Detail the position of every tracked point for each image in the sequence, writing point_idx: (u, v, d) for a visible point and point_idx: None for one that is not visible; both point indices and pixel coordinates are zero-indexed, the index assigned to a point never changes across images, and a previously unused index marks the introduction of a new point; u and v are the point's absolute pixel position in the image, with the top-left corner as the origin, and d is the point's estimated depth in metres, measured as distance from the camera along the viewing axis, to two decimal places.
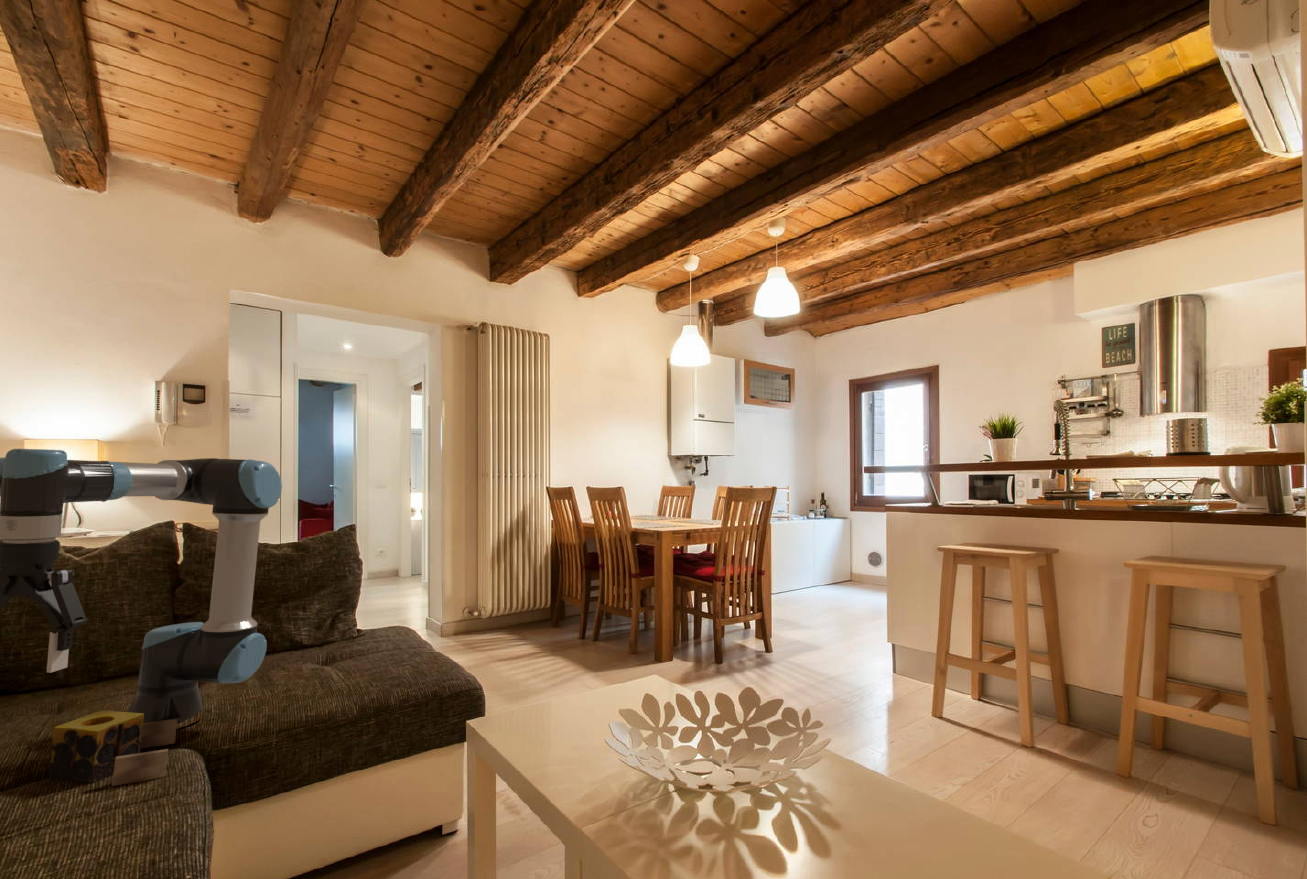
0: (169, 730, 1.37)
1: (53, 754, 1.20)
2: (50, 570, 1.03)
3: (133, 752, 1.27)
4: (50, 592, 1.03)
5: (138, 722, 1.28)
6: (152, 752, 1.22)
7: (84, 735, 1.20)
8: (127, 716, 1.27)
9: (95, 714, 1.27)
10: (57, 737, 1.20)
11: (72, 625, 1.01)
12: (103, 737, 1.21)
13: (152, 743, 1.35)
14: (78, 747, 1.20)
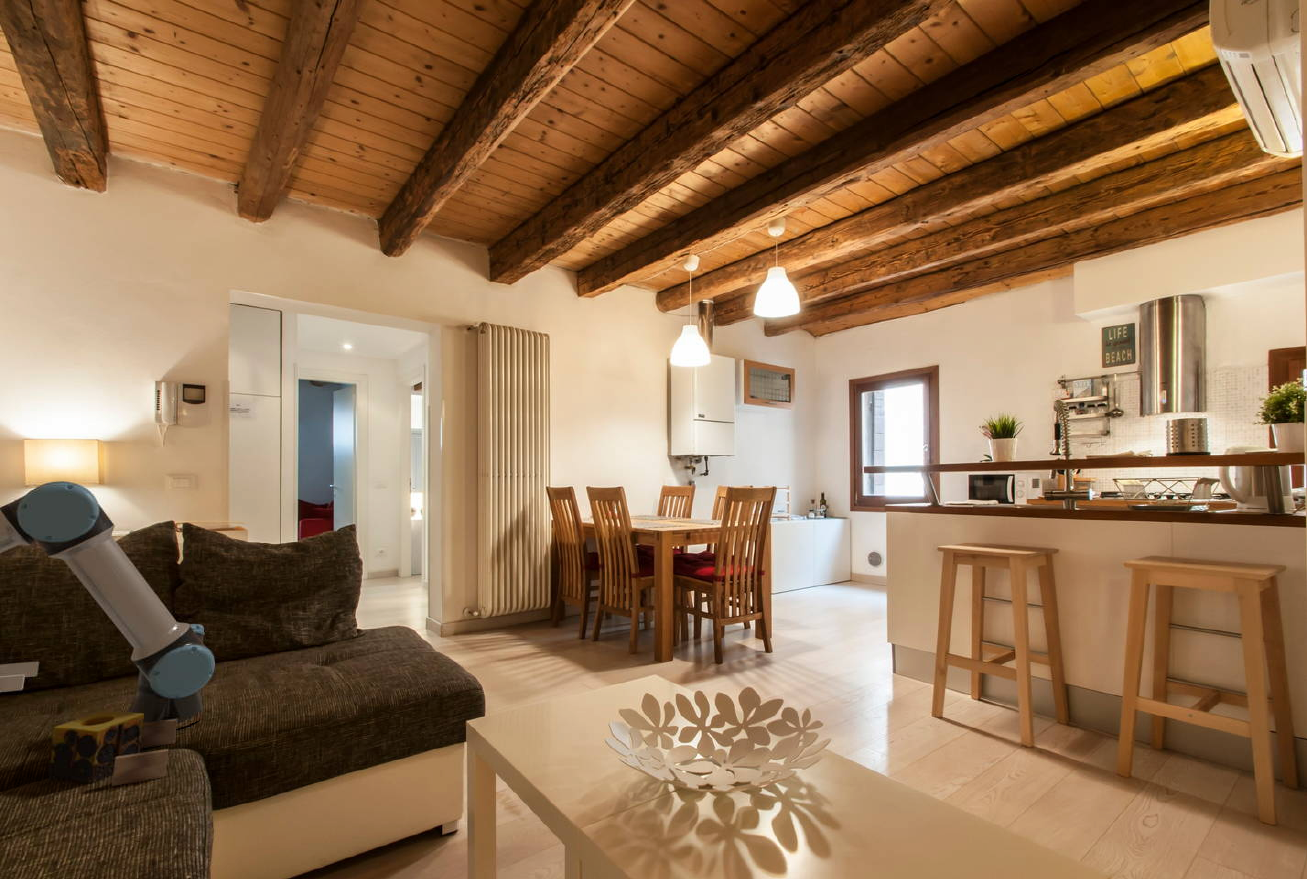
0: (169, 730, 1.37)
1: (53, 754, 1.20)
2: None
3: (133, 752, 1.27)
4: None
5: (138, 722, 1.28)
6: (152, 752, 1.22)
7: (84, 735, 1.20)
8: (127, 716, 1.27)
9: (95, 714, 1.27)
10: (57, 737, 1.20)
11: None
12: (103, 737, 1.21)
13: (152, 743, 1.35)
14: (79, 747, 1.20)
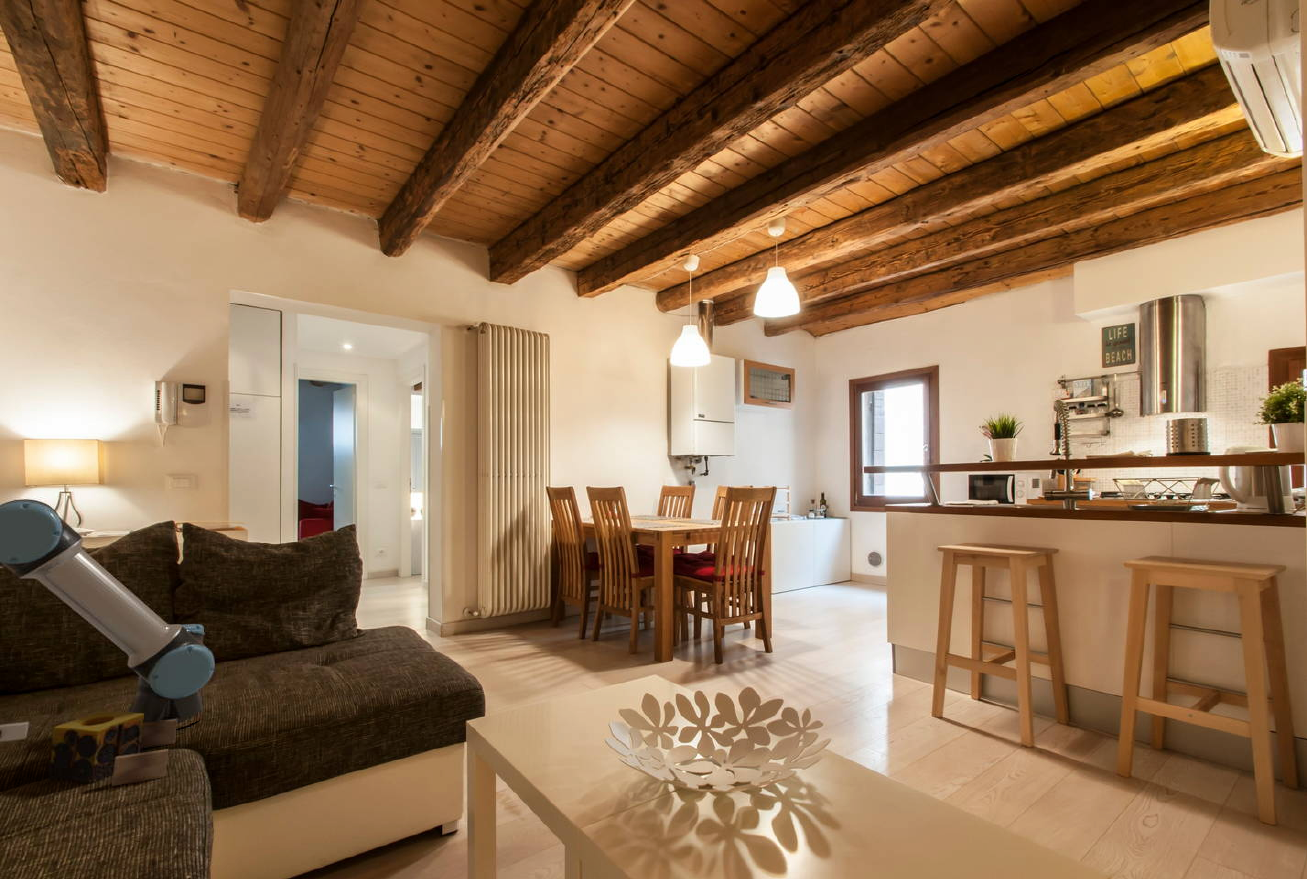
0: (169, 730, 1.37)
1: (53, 754, 1.20)
2: None
3: (133, 752, 1.27)
4: None
5: (138, 722, 1.28)
6: (152, 752, 1.22)
7: (84, 735, 1.20)
8: (127, 716, 1.27)
9: (95, 714, 1.27)
10: (57, 737, 1.20)
11: None
12: (103, 737, 1.21)
13: (152, 743, 1.35)
14: (79, 747, 1.20)
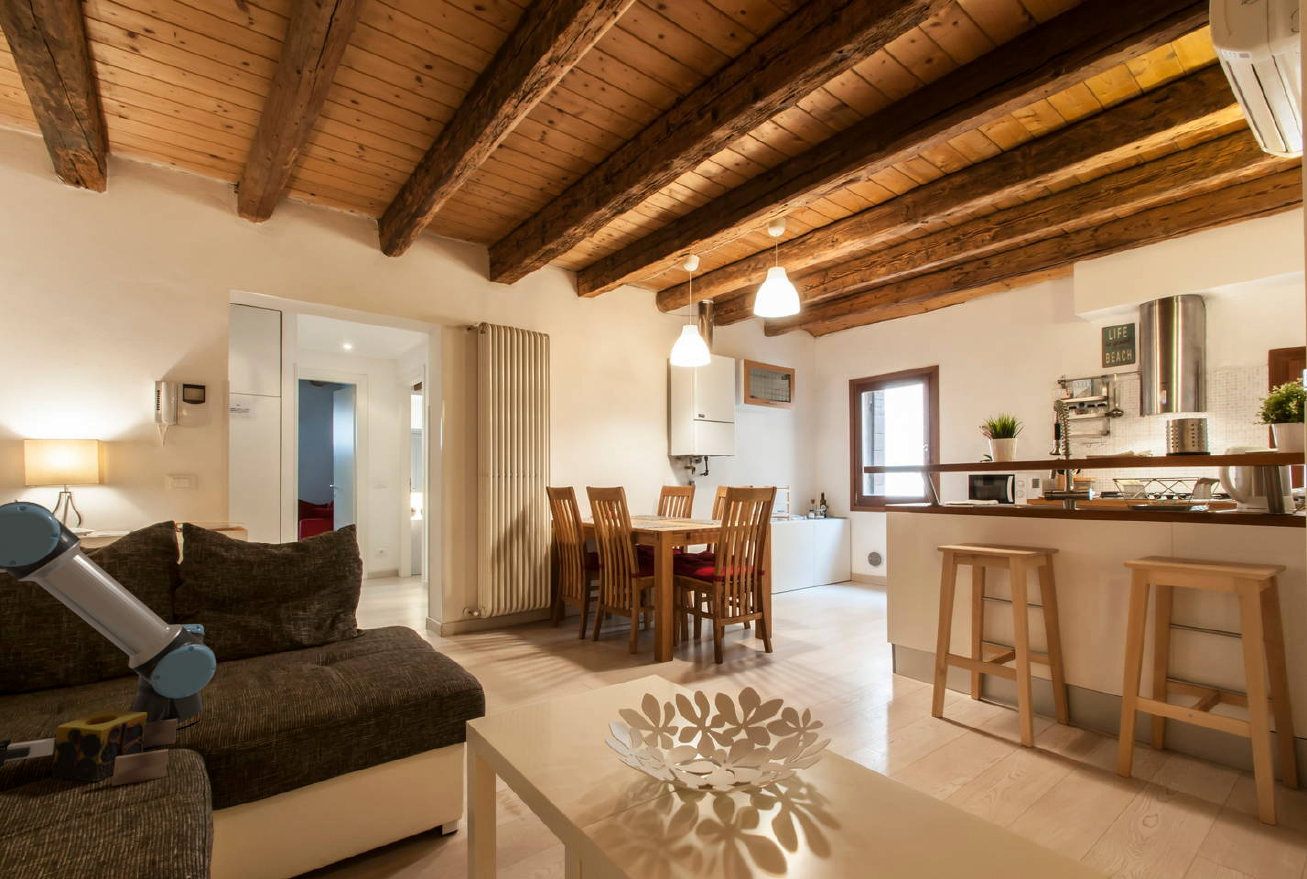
0: (169, 730, 1.37)
1: (57, 753, 1.20)
2: None
3: (136, 751, 1.27)
4: None
5: (142, 721, 1.28)
6: (152, 752, 1.22)
7: (88, 734, 1.20)
8: (130, 715, 1.27)
9: (98, 713, 1.27)
10: (61, 736, 1.20)
11: None
12: (107, 736, 1.21)
13: (152, 743, 1.35)
14: (82, 746, 1.20)
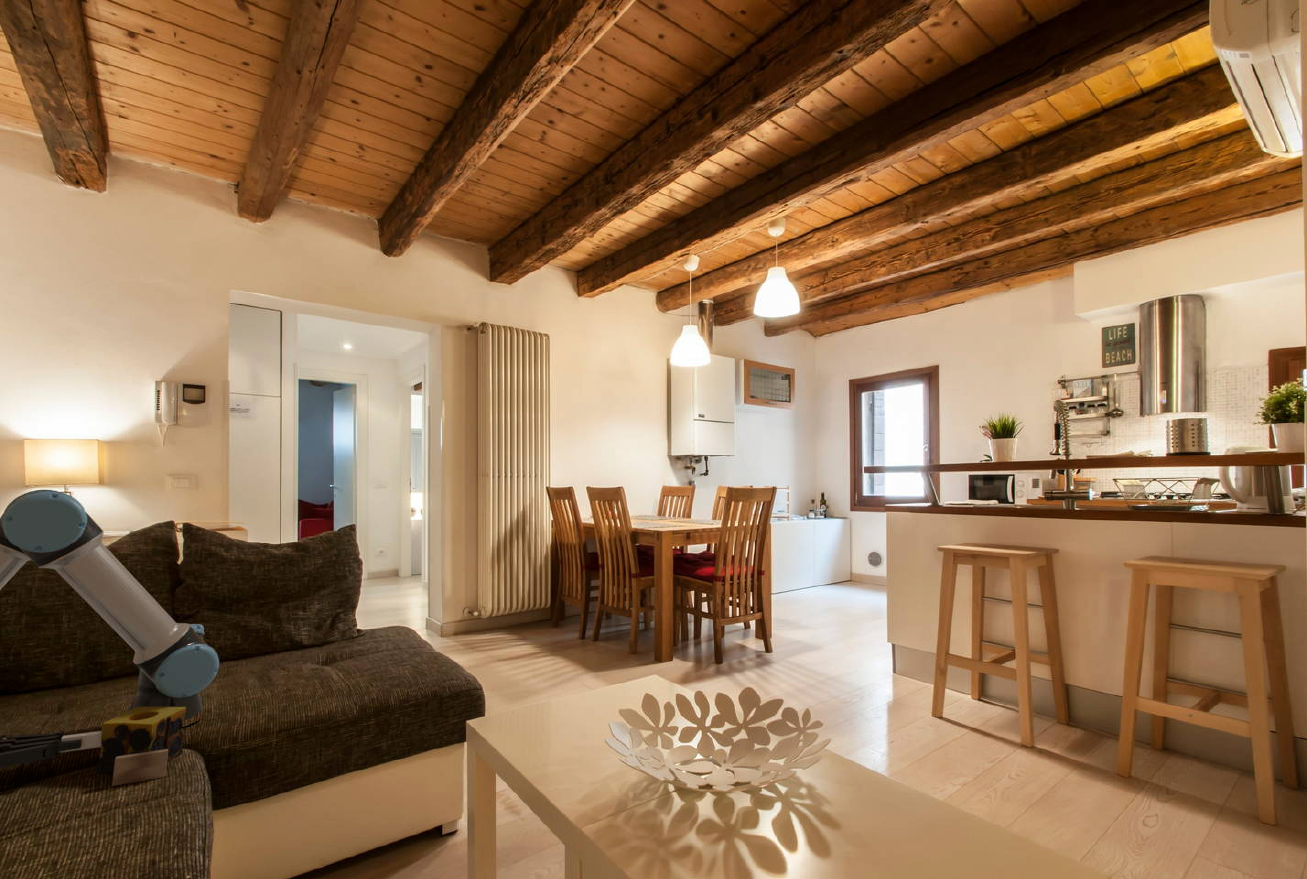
0: None
1: (102, 749, 1.23)
2: None
3: (177, 744, 1.31)
4: (7, 752, 1.16)
5: (181, 715, 1.33)
6: (152, 752, 1.22)
7: (136, 729, 1.24)
8: (170, 710, 1.31)
9: (135, 710, 1.30)
10: (106, 732, 1.23)
11: (49, 757, 1.18)
12: (155, 730, 1.25)
13: None
14: (131, 740, 1.23)
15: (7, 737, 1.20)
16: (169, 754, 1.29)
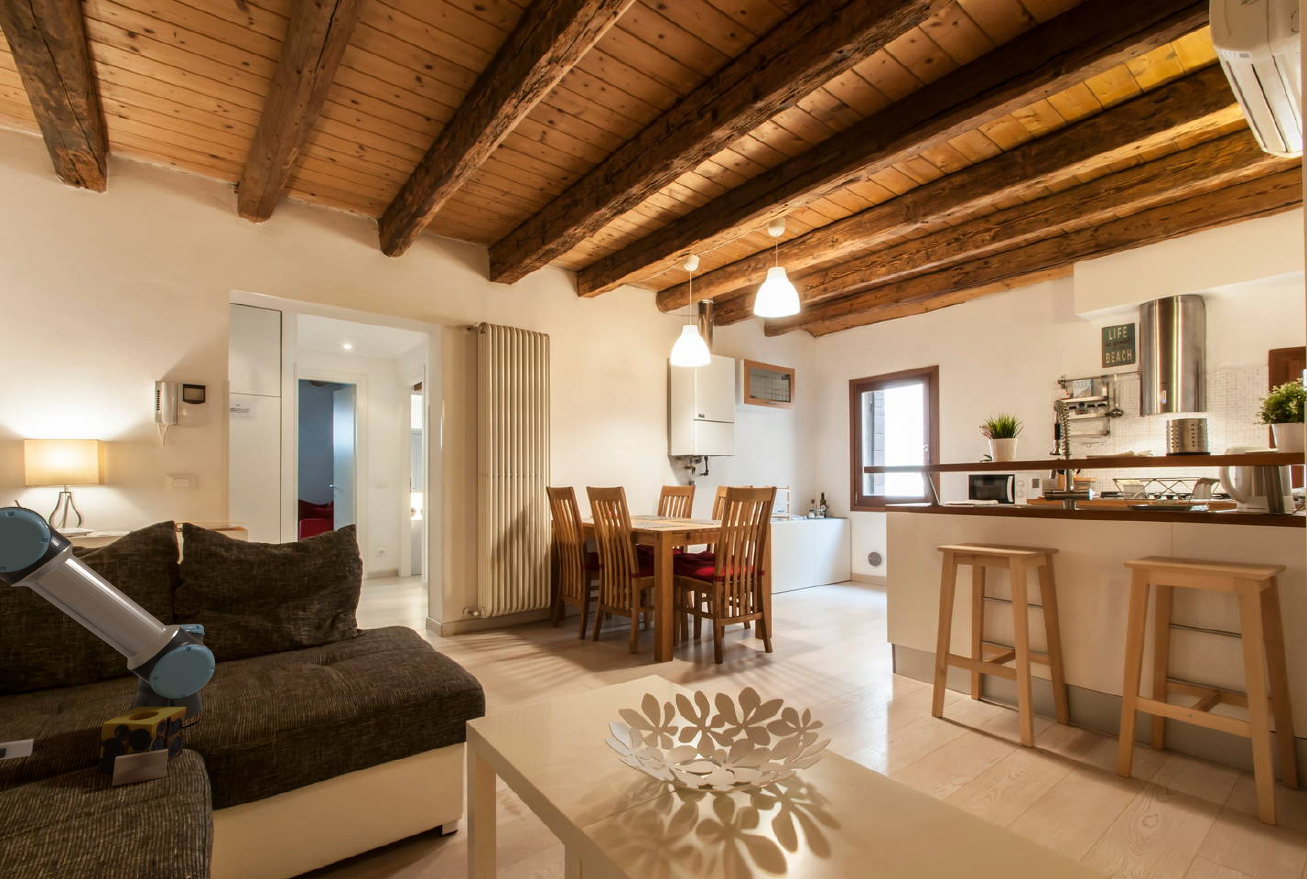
0: None
1: (102, 749, 1.23)
2: None
3: (177, 744, 1.31)
4: None
5: (181, 715, 1.33)
6: (152, 752, 1.22)
7: (136, 729, 1.24)
8: (170, 710, 1.31)
9: (135, 710, 1.30)
10: (106, 732, 1.23)
11: None
12: (156, 730, 1.25)
13: None
14: (131, 740, 1.23)
15: None
16: (169, 754, 1.29)
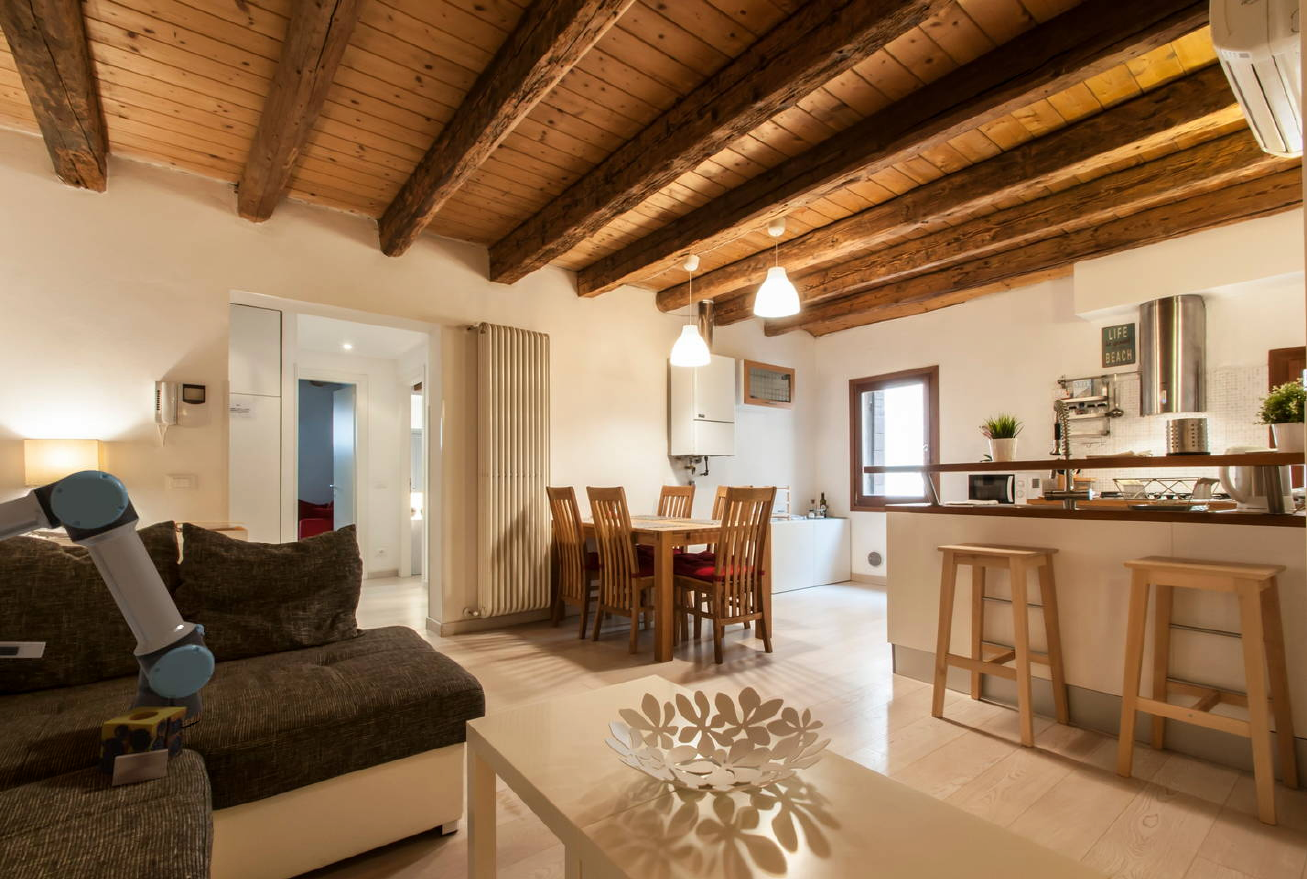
0: None
1: (102, 749, 1.23)
2: None
3: (177, 744, 1.31)
4: None
5: (181, 715, 1.33)
6: (152, 752, 1.22)
7: (137, 729, 1.24)
8: (170, 710, 1.31)
9: (136, 710, 1.30)
10: (106, 732, 1.23)
11: None
12: (156, 730, 1.25)
13: None
14: (131, 740, 1.23)
15: None
16: (169, 754, 1.29)
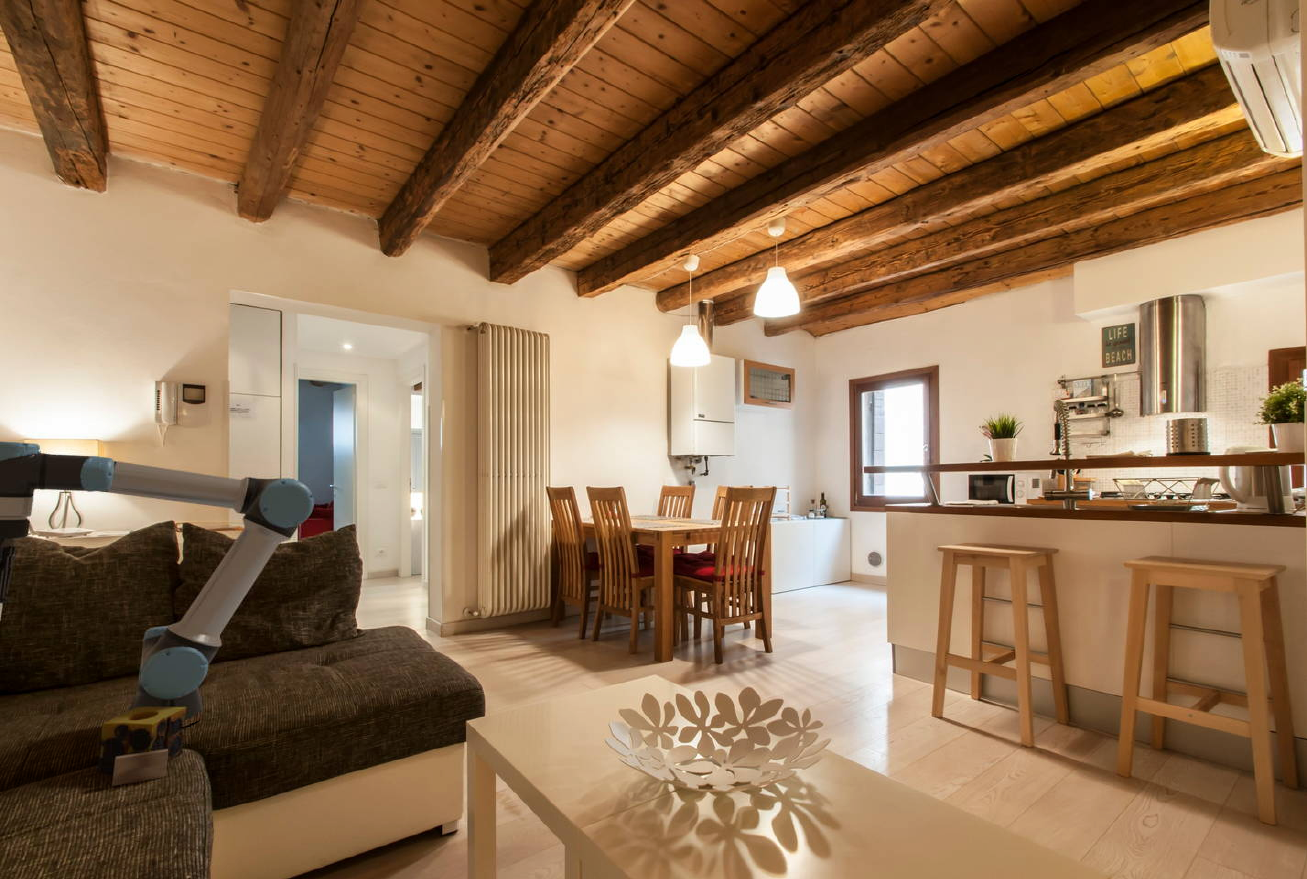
0: None
1: (102, 749, 1.23)
2: None
3: (177, 744, 1.31)
4: None
5: (181, 715, 1.33)
6: (152, 752, 1.22)
7: (137, 729, 1.24)
8: (170, 710, 1.31)
9: (135, 710, 1.30)
10: (106, 732, 1.23)
11: None
12: (156, 730, 1.25)
13: None
14: (131, 740, 1.23)
15: (13, 556, 1.27)
16: (169, 754, 1.29)
